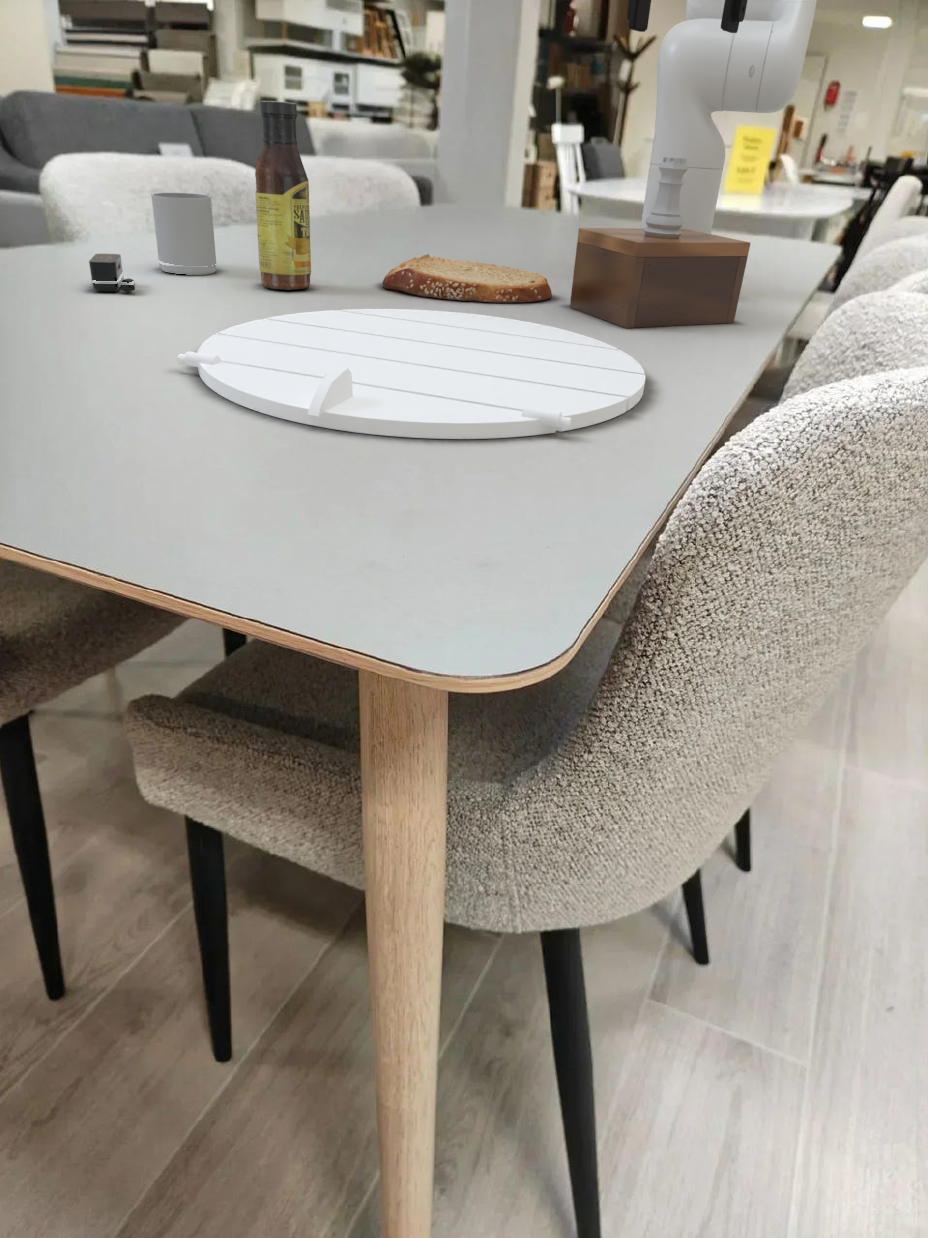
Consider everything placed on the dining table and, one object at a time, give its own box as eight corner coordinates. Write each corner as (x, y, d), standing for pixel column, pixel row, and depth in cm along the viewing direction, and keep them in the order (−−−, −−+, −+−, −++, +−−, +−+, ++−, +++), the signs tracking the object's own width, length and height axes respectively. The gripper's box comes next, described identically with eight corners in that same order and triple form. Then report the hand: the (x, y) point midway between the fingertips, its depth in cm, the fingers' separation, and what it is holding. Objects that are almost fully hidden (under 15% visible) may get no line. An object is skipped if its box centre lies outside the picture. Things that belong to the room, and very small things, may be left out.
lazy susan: (583, 479, 55) (590, 428, 54) (86, 388, 66) (79, 342, 64) (673, 352, 88) (680, 317, 86) (332, 305, 99) (331, 273, 97)
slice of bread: (563, 299, 111) (567, 268, 109) (456, 310, 100) (458, 276, 98) (473, 276, 122) (474, 248, 120) (368, 284, 112) (368, 253, 110)
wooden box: (569, 306, 107) (578, 227, 102) (672, 303, 113) (685, 228, 109) (625, 328, 97) (638, 242, 93) (734, 322, 104) (750, 242, 99)
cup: (155, 274, 109) (145, 196, 105) (169, 262, 118) (161, 189, 113) (213, 276, 110) (206, 199, 106) (223, 264, 119) (217, 192, 114)
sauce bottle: (307, 293, 104) (300, 102, 94) (255, 289, 104) (243, 98, 94) (315, 284, 110) (310, 103, 100) (266, 281, 110) (256, 99, 100)
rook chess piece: (681, 239, 97) (695, 160, 93) (642, 236, 98) (654, 157, 94) (681, 235, 101) (694, 158, 97) (643, 232, 102) (654, 155, 98)
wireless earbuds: (91, 293, 96) (87, 262, 95) (100, 282, 102) (96, 253, 101) (135, 294, 97) (131, 264, 96) (141, 283, 103) (137, 254, 102)
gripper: (826, -197, 76) (778, 35, 85) (645, -178, 84) (619, 33, 93) (803, -225, 71) (755, 27, 79) (612, -202, 78) (587, 25, 87)
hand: (682, 30), depth 86 cm, fingers open, 9 cm apart
